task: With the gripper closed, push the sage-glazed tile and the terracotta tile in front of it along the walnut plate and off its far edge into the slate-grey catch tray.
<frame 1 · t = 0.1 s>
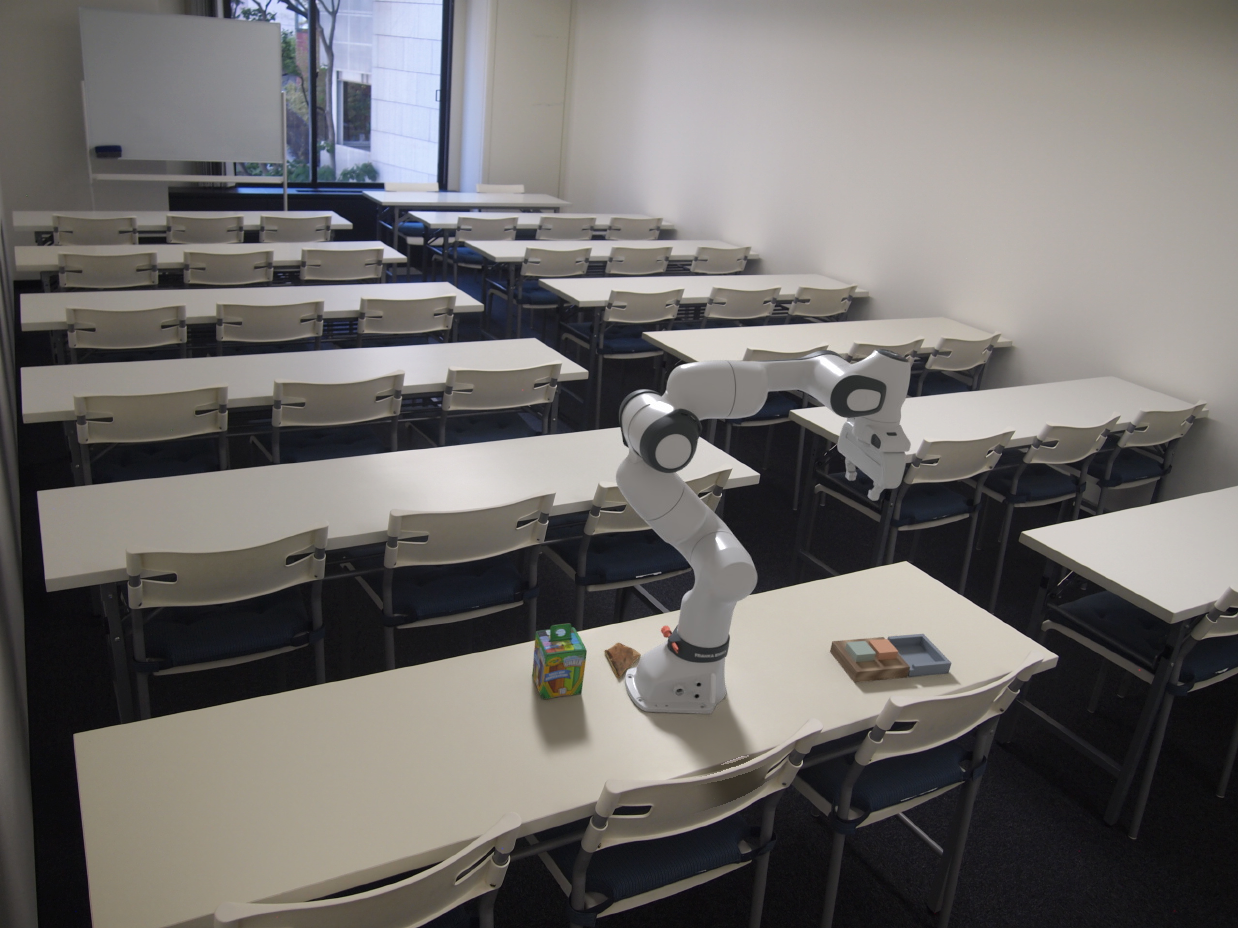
hand: (861, 488, 192), 48 cm above the table, fingers open, 8 cm apart
terracotta tile: (881, 652, 217), point 3 cm above the table, touching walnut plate
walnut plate: (867, 664, 218), on the table
chalk box: (556, 685, 199), on the table
catch tray: (914, 659, 221), on the table
sage tile: (859, 654, 215), point 3 cm above the table, touching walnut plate
shard: (625, 664, 209), on the table
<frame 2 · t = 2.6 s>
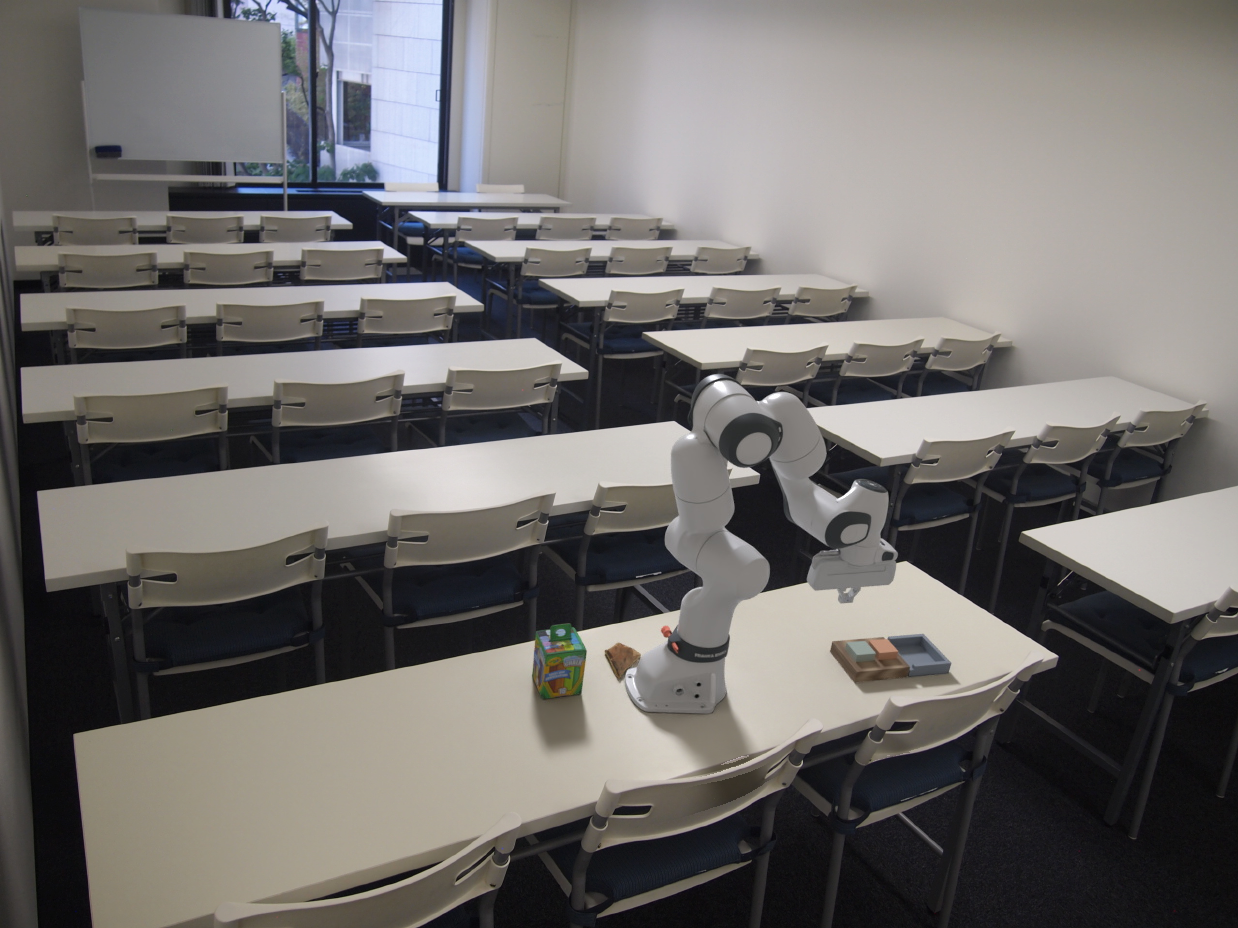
hand: (845, 601, 207), 18 cm above the table, fingers closed
nothing on the table moved.
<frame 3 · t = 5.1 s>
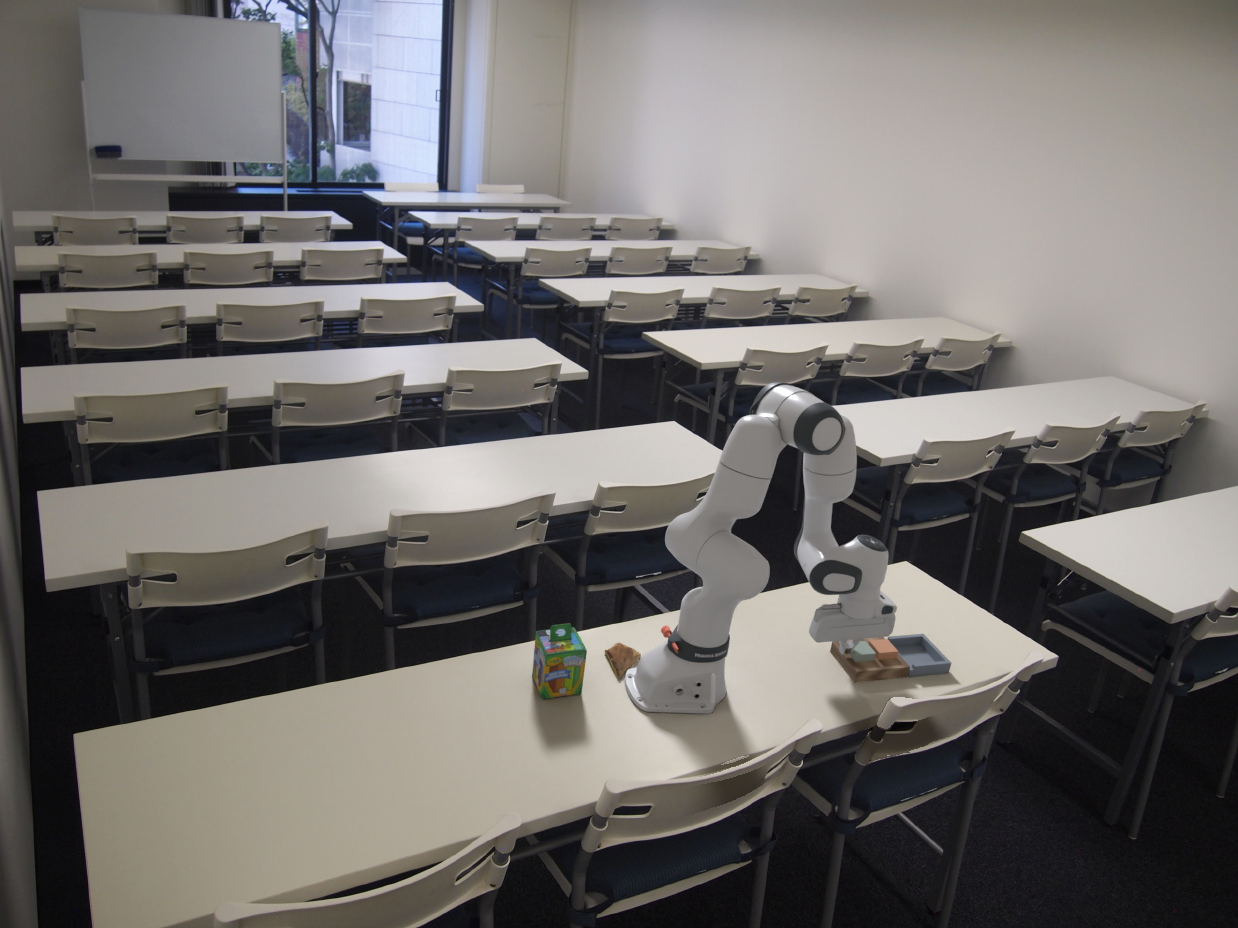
hand: (845, 652, 214), 4 cm above the table, fingers closed
sage tile: (859, 654, 215), point 3 cm above the table, touching gripper, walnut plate
everything else where it was.
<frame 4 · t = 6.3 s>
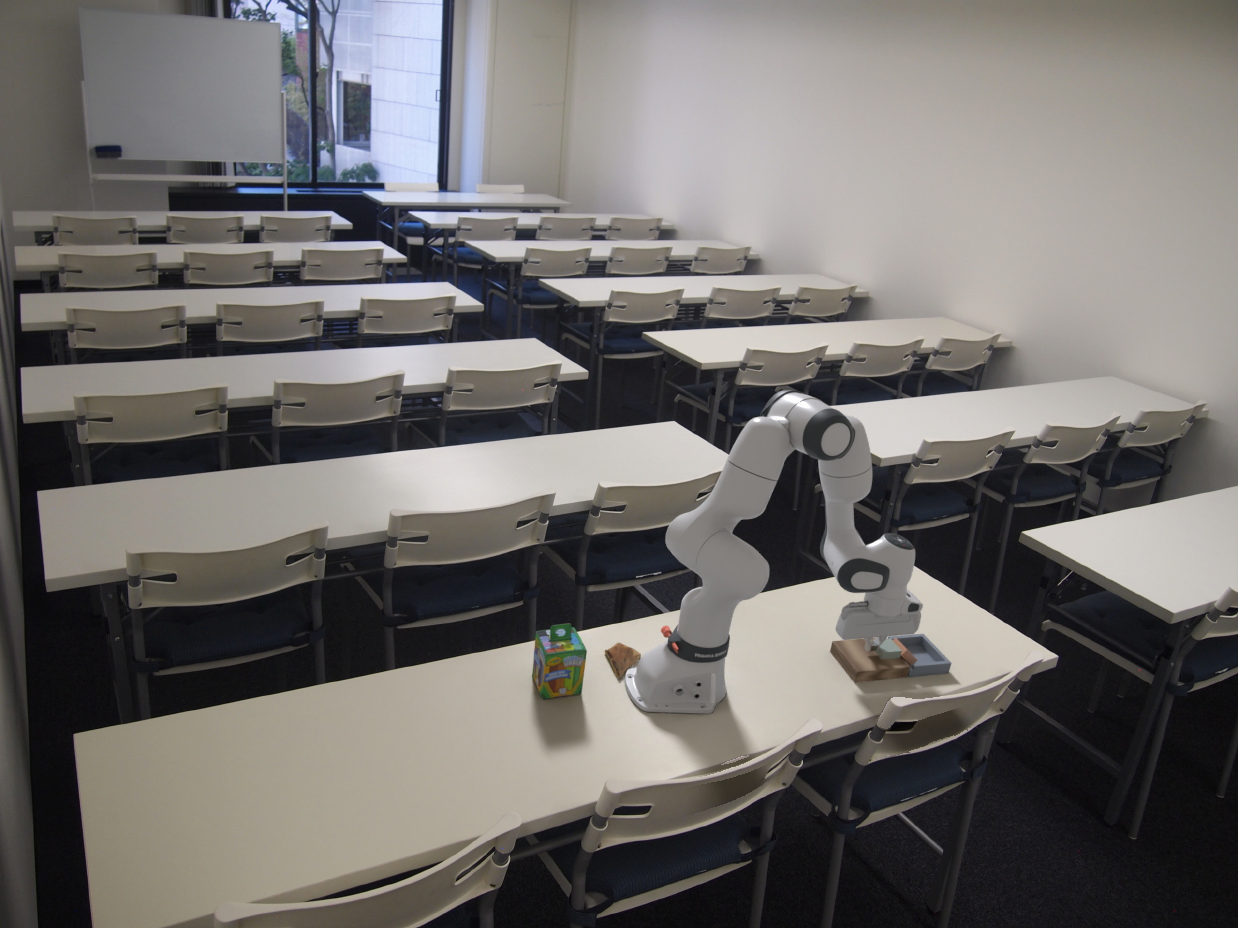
hand: (871, 649, 216), 4 cm above the table, fingers closed
terracotta tile: (900, 654, 219), point 2 cm above the table, tilted 41°, touching catch tray, sage tile
sage tile: (885, 652, 217), point 3 cm above the table, touching gripper, terracotta tile
everything else where it was.
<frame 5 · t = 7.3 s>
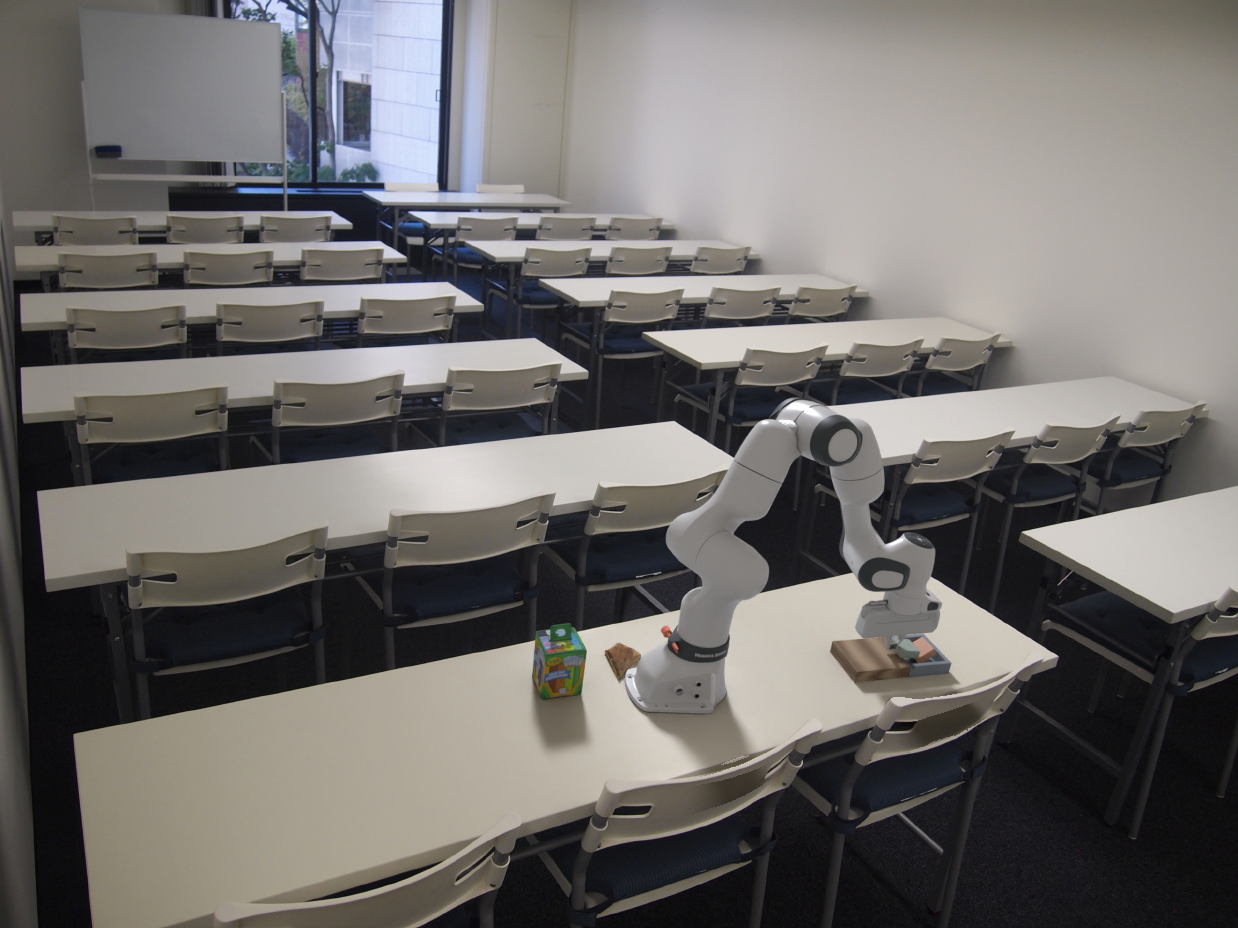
hand: (890, 648, 217), 4 cm above the table, fingers closed
terracotta tile: (919, 647, 220), point 3 cm above the table, tilted 146°, touching catch tray
sage tile: (903, 651, 219), point 3 cm above the table, tilted 9°, touching gripper
everything else where it was.
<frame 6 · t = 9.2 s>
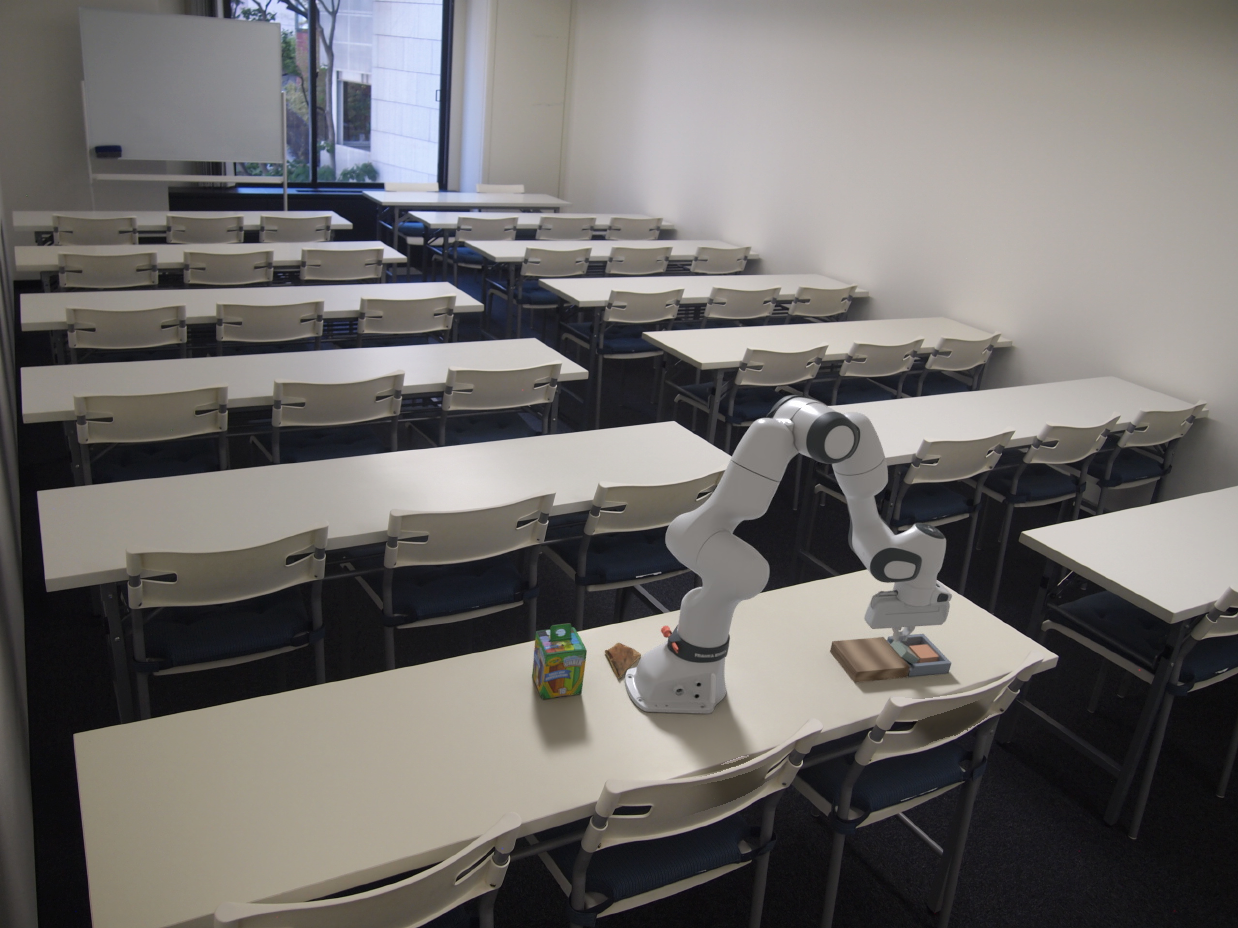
hand: (899, 639, 216), 7 cm above the table, fingers closed
terracotta tile: (924, 651, 221), point 2 cm above the table, tilted 180°, touching catch tray
sage tile: (901, 654, 219), point 2 cm above the table, tilted 34°, touching catch tray, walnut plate
everything else where it was.
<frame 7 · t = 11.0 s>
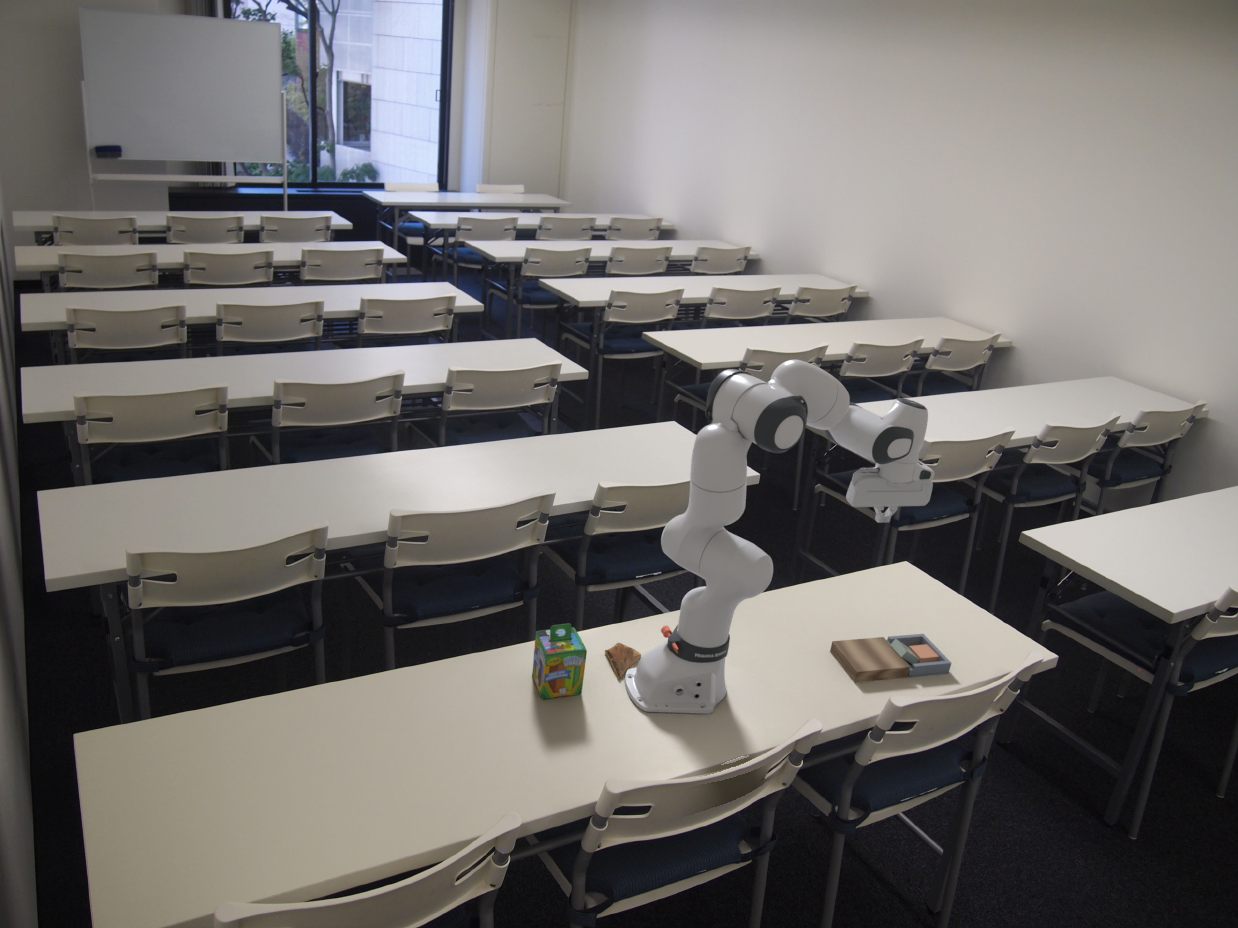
hand: (881, 521, 214), 33 cm above the table, fingers closed
nothing on the table moved.
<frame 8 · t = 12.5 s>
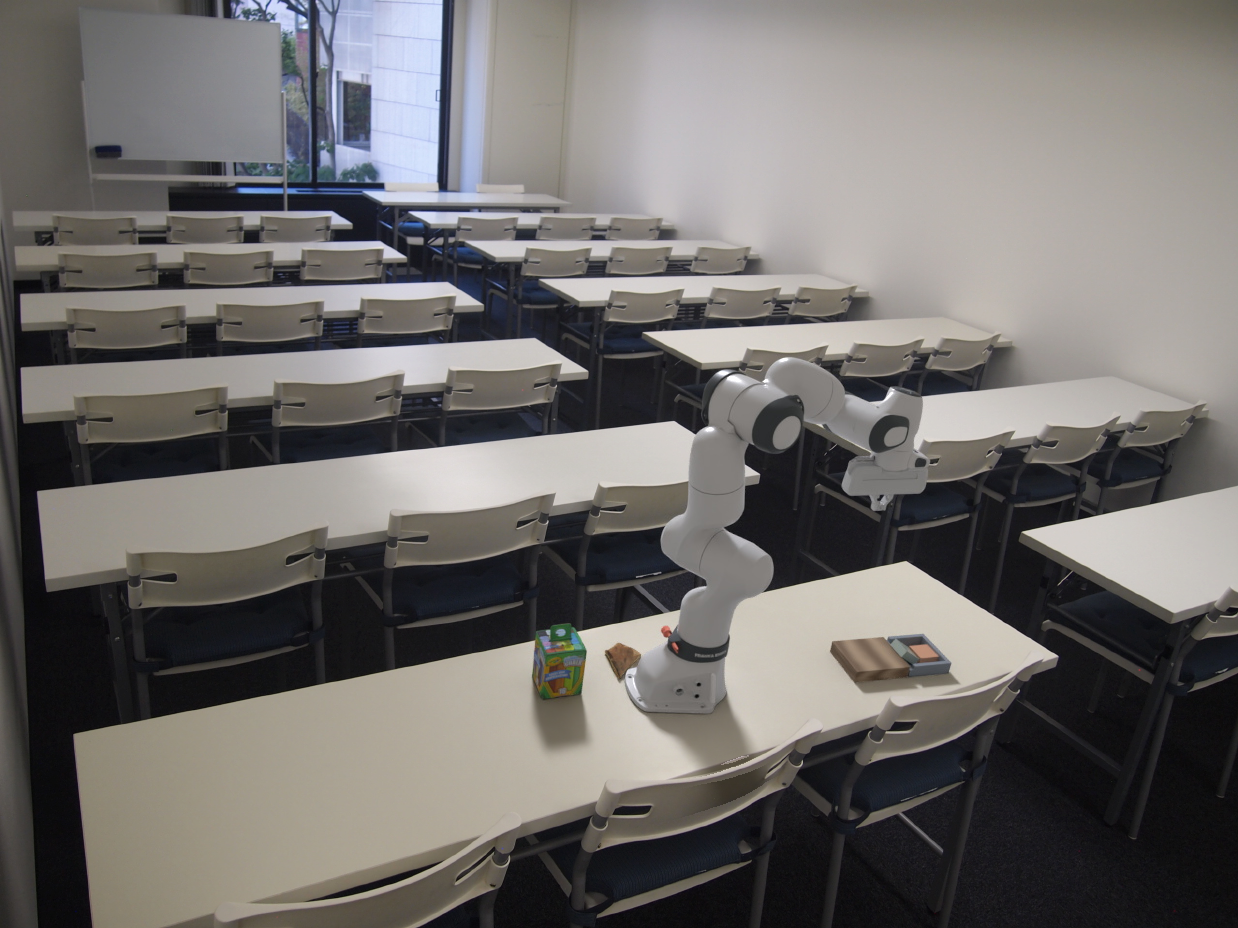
hand: (877, 509, 214), 35 cm above the table, fingers closed
nothing on the table moved.
at the end: terracotta tile inside the target area on the catch tray (2.0 cm from its centre), point 2.4 cm above the catch tray's base; sage tile inside the target area on the catch tray (4.0 cm from its centre), point 1.8 cm above the catch tray's base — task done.
